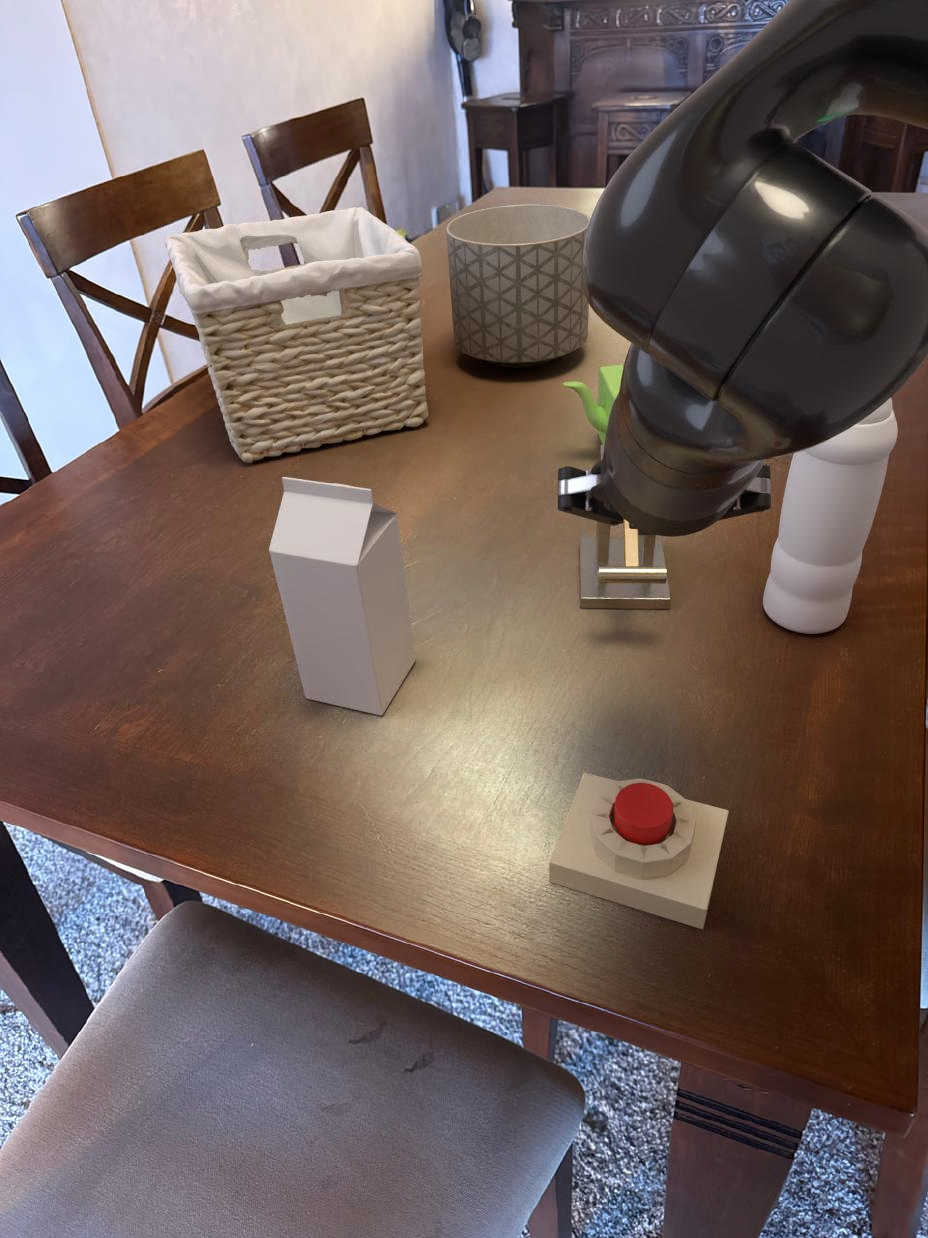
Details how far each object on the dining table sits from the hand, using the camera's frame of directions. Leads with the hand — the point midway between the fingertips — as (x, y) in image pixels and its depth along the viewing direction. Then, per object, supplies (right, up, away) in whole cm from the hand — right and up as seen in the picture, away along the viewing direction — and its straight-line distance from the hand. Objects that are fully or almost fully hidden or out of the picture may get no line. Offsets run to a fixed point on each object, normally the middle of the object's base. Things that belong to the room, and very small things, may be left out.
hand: (648, 520), depth 60 cm
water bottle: (+17, -6, +17) cm, 25 cm away
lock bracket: (+2, -3, +23) cm, 23 cm away
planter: (-4, +31, +65) cm, 72 cm away
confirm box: (-1, -23, -2) cm, 23 cm away
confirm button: (-1, -20, -4) cm, 20 cm away
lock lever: (+2, +1, +15) cm, 15 cm away
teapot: (+9, +13, +41) cm, 44 cm away
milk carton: (-21, -12, +14) cm, 28 cm away
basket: (-33, +21, +56) cm, 68 cm away
